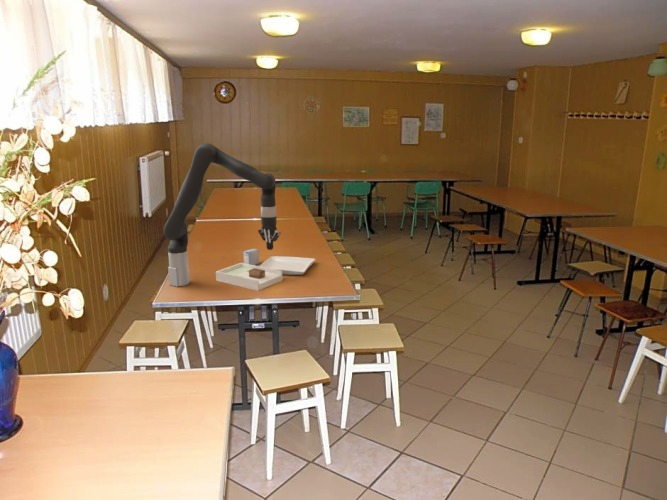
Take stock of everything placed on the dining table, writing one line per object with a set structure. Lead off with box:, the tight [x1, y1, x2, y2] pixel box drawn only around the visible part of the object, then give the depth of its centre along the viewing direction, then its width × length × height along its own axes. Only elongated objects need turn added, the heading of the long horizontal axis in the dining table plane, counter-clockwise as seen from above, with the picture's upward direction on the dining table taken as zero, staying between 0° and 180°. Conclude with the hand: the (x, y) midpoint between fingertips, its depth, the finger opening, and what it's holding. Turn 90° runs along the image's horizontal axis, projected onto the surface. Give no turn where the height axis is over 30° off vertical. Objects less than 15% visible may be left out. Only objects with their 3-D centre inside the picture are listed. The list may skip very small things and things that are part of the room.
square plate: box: [259, 255, 317, 276], centre depth 291 cm, size 27×27×4 cm
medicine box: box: [242, 248, 260, 266], centre depth 298 cm, size 8×4×9 cm, turn 141°
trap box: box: [215, 262, 284, 292], centre depth 271 cm, size 19×29×5 cm, turn 56°
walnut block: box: [249, 268, 265, 279], centre depth 268 cm, size 4×7×4 cm, turn 56°
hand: (270, 249), depth 259 cm, fingers closed
